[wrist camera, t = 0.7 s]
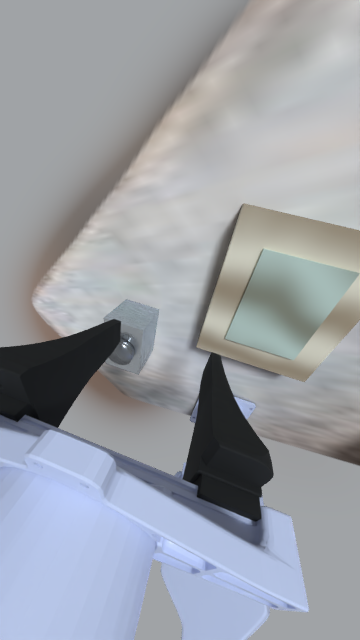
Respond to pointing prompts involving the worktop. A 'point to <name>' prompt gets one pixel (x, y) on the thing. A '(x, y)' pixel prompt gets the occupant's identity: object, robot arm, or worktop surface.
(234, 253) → the stand
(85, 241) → the worktop surface
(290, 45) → the worktop surface
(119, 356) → the block
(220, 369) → the robot arm
